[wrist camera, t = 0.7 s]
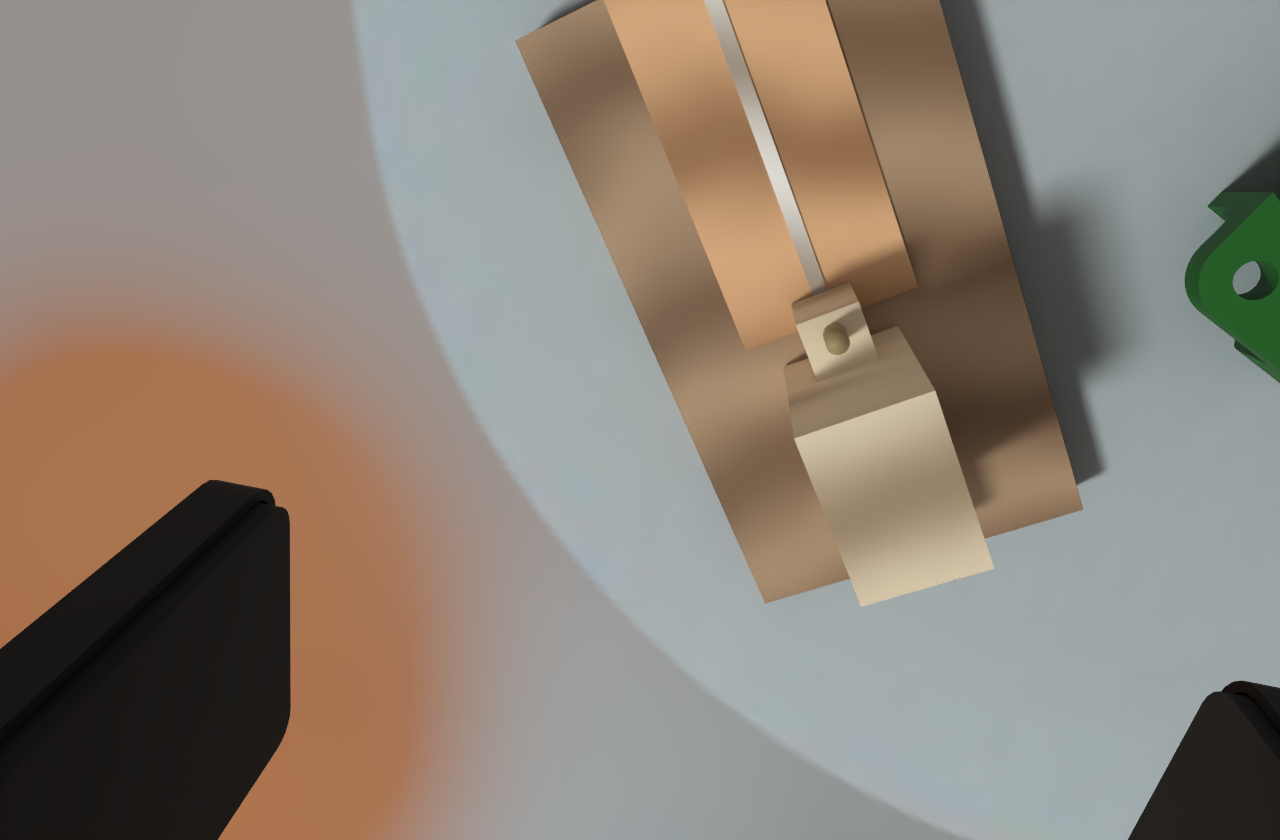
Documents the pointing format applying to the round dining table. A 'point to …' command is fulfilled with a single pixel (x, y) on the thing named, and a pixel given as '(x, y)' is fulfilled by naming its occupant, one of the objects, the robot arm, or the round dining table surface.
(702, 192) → the board
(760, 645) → the round dining table surface
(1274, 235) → the clamp
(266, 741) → the robot arm
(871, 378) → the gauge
